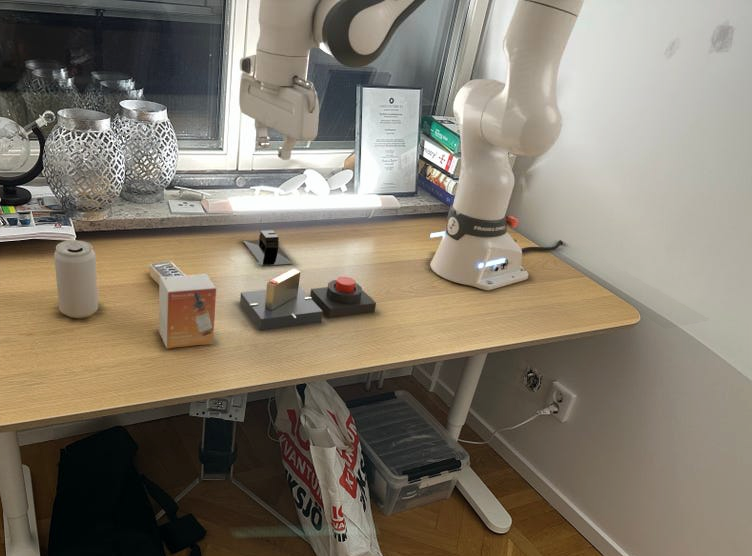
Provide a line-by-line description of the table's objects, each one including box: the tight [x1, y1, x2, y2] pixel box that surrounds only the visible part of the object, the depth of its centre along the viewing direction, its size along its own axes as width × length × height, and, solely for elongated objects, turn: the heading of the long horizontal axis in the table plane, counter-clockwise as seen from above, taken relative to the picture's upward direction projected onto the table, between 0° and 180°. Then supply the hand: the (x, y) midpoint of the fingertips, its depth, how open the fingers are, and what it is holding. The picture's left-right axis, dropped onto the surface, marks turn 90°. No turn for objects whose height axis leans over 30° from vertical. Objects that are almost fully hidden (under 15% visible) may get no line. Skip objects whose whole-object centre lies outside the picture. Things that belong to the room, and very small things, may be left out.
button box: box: [309, 279, 377, 320], centre depth 125 cm, size 10×8×4 cm
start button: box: [335, 276, 356, 293], centre depth 124 cm, size 4×4×2 cm
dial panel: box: [239, 285, 324, 332], centre depth 120 cm, size 12×12×3 cm
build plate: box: [243, 229, 294, 267], centre depth 141 cm, size 12×7×5 cm, turn 23°
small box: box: [158, 273, 217, 349], centre depth 107 cm, size 8×6×10 cm
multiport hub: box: [149, 260, 187, 285], centre depth 124 cm, size 4×11×2 cm, turn 35°
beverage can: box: [53, 239, 99, 319], centre depth 110 cm, size 6×6×12 cm
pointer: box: [265, 268, 301, 310], centre depth 118 cm, size 8×2×5 cm, turn 146°
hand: (273, 152), depth 118 cm, fingers open, 5 cm apart
